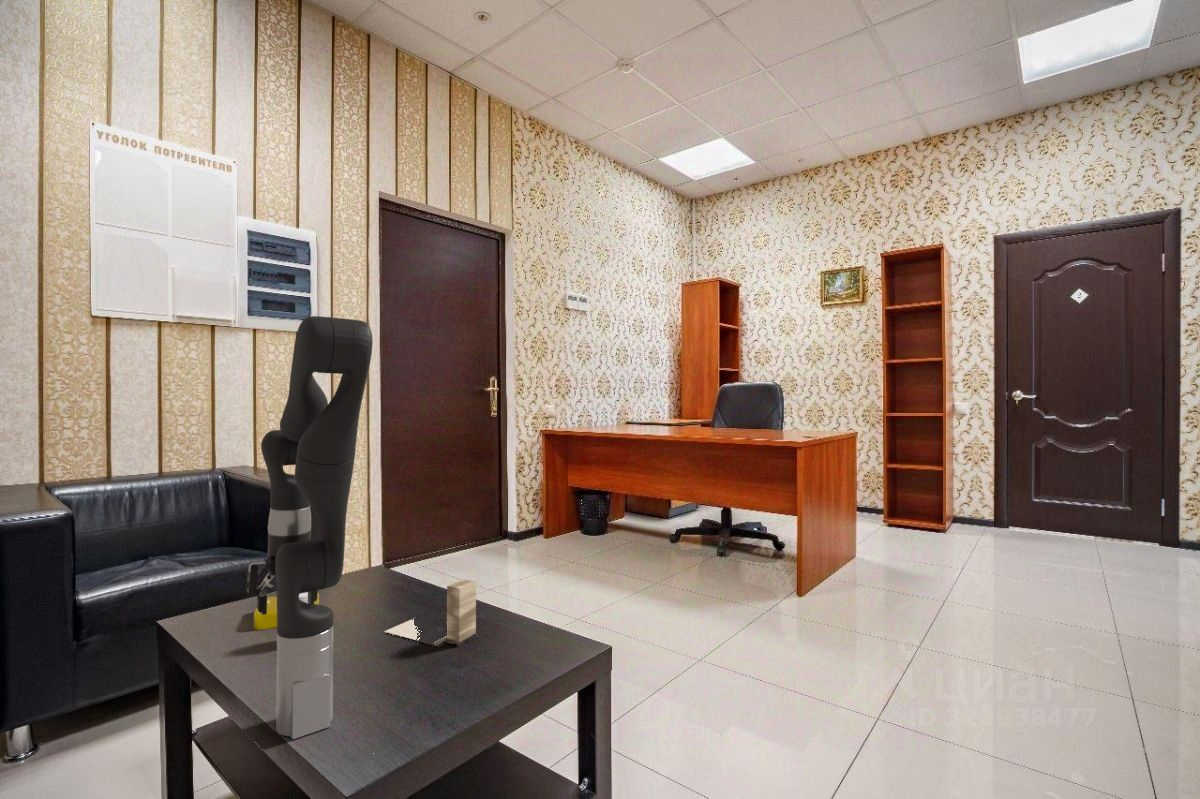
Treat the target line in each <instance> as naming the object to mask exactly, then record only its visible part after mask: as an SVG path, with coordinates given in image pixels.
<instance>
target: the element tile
mask: <svg viewBox="0 0 1200 799" xmlns="http://www.w3.org/2000/svg"><path fill="white" fill-rule="evenodd" d="M314 604H318V605H320V593H319V592H317V600H316V601H314ZM253 629H254V630H255V631H262V630H263V631H264V630H271V629H277V595H276V596H267V614H265V615H262V614H261V612H260V613H259V611H258V609H257V606H256V608H255V610H254V613H253Z"/></svg>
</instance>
